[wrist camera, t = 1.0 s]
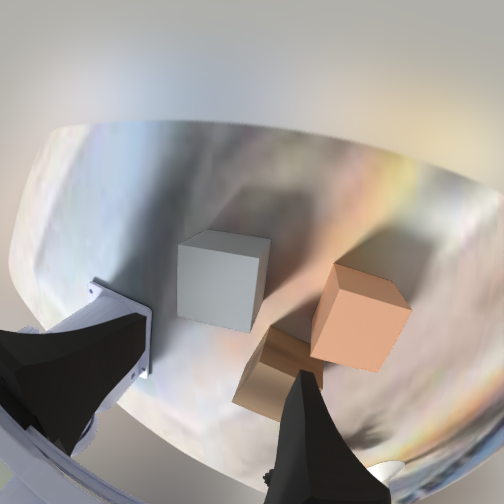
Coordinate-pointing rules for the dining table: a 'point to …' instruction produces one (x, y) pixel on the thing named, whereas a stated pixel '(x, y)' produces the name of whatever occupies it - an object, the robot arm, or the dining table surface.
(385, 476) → the champagne flute
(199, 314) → the slate grey block
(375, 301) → the terracotta block
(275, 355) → the walnut block
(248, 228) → the dining table surface
